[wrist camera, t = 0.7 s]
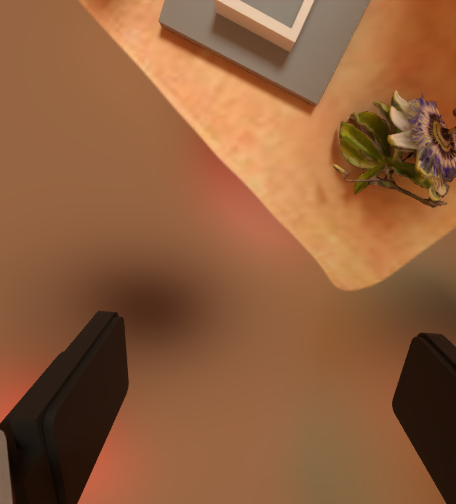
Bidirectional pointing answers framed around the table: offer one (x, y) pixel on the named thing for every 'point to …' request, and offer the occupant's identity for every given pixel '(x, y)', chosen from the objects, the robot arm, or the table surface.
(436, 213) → the table surface
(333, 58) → the jig board
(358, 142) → the passion flower
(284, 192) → the table surface
